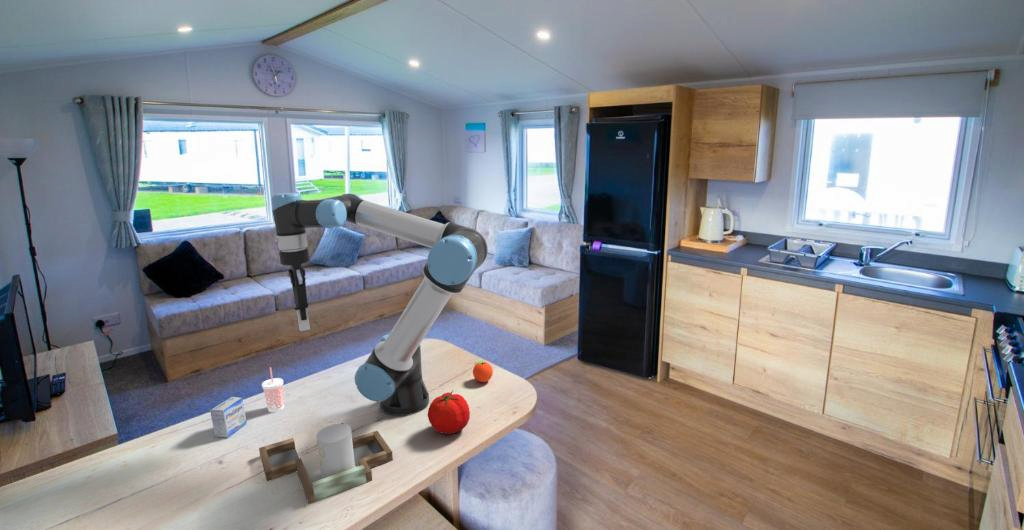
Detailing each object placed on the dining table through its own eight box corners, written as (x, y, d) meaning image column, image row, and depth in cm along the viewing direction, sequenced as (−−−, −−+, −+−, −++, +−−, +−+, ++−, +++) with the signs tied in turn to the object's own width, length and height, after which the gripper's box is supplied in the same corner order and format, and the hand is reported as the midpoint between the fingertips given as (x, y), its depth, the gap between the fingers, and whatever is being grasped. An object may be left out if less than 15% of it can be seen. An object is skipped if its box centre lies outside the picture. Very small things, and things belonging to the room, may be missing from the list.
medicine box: (227, 438, 144) (223, 411, 142) (214, 437, 145) (209, 409, 143) (247, 423, 152) (243, 397, 150) (234, 422, 153) (229, 396, 151)
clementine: (467, 380, 177) (466, 361, 175) (482, 373, 181) (481, 355, 180) (481, 387, 171) (481, 368, 170) (497, 381, 176) (496, 361, 174)
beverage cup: (276, 414, 156) (270, 372, 153) (260, 411, 158) (254, 370, 155) (291, 405, 162) (285, 364, 159) (275, 402, 164) (270, 362, 161)
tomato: (468, 417, 153) (467, 383, 150) (472, 439, 142) (470, 402, 139) (428, 422, 151) (426, 387, 148) (428, 444, 140) (426, 407, 137)
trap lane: (367, 423, 151) (366, 411, 150) (399, 470, 129) (398, 456, 128) (260, 456, 136) (258, 442, 135) (275, 515, 114) (273, 500, 113)
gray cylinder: (324, 467, 131) (319, 425, 128) (357, 464, 132) (353, 422, 129) (318, 488, 123) (312, 444, 120) (353, 484, 124) (348, 440, 121)
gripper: (276, 247, 145) (288, 326, 150) (281, 254, 134) (293, 339, 139) (304, 244, 149) (314, 321, 154) (311, 250, 138) (322, 333, 143)
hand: (304, 329), depth 147 cm, fingers closed
